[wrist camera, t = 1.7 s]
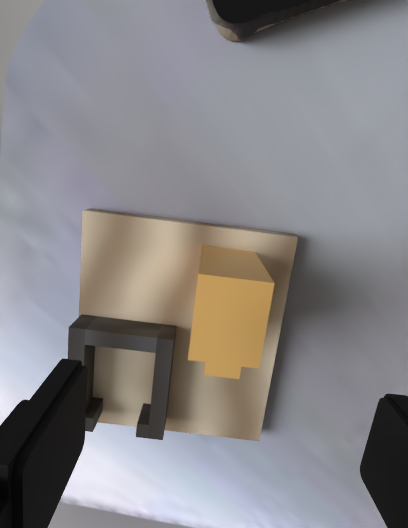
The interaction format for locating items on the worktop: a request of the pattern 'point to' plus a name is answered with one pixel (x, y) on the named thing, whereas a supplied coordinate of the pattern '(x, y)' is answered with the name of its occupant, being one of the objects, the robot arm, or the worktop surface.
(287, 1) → the black sponge
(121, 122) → the worktop surface
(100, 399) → the board
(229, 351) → the plug
